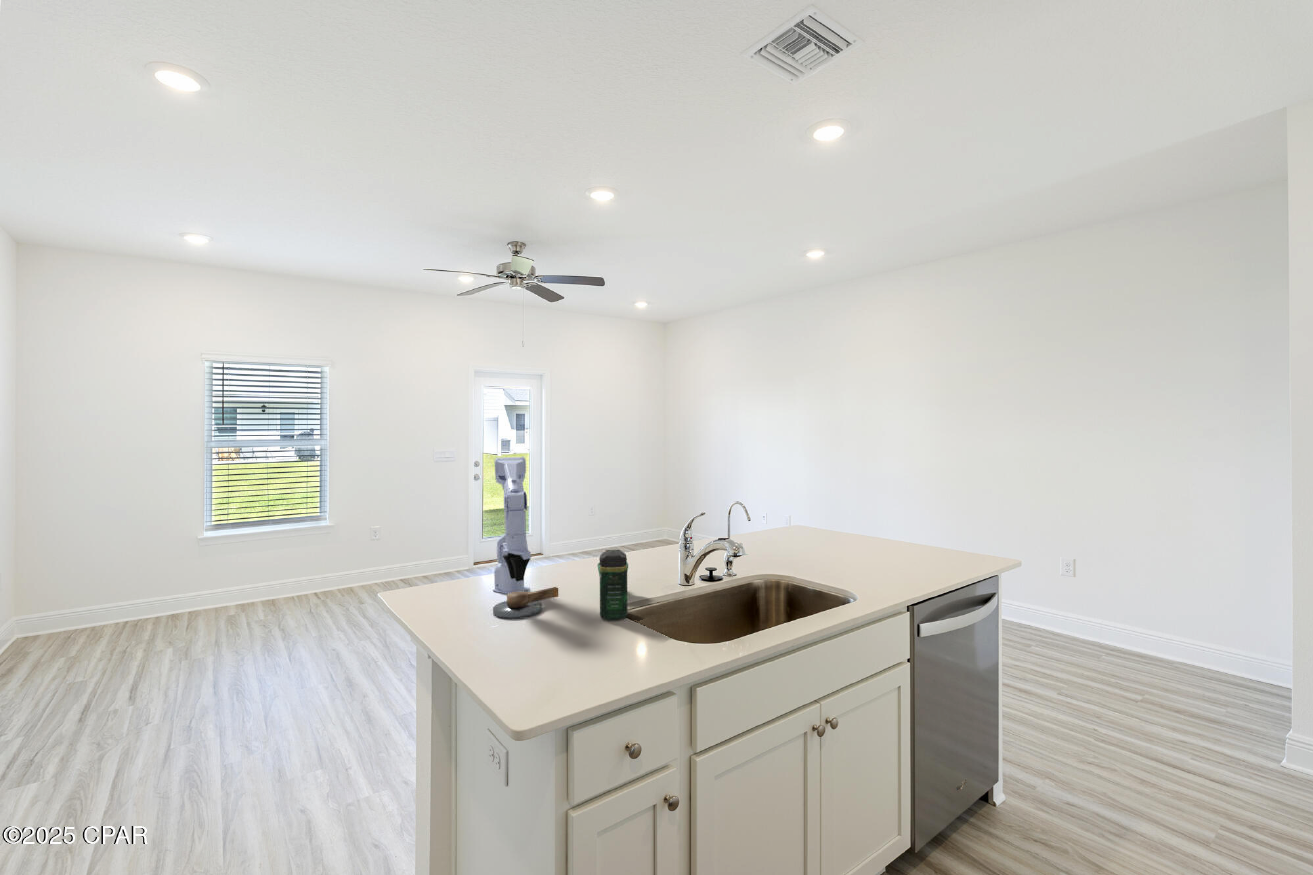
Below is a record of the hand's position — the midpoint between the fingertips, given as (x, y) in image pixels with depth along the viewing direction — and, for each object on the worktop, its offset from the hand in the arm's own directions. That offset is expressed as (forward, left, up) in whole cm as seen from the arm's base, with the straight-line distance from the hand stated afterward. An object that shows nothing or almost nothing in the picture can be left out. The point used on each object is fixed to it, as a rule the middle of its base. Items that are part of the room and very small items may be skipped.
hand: (517, 579), depth 174 cm
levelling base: (0, 0, -9) cm, 9 cm away
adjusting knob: (+2, +5, -7) cm, 9 cm away
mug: (+13, +29, -10) cm, 33 cm away
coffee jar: (+27, +11, -10) cm, 31 cm away
